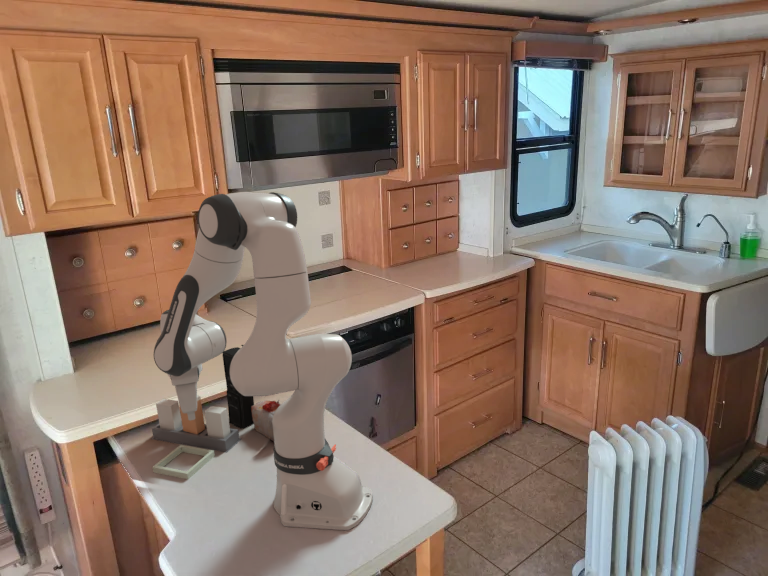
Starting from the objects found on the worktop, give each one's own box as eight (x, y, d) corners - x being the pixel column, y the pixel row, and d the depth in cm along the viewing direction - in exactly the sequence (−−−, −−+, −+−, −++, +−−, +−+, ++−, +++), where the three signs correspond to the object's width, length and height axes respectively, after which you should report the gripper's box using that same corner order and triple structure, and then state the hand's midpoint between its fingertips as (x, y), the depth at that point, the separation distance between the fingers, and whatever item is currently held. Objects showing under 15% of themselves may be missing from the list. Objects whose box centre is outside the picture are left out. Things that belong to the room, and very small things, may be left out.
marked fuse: (205, 429, 155) (200, 395, 152) (197, 434, 152) (192, 400, 150) (191, 425, 157) (186, 392, 154) (183, 430, 154) (178, 397, 152)
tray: (215, 459, 147) (214, 450, 147) (188, 482, 138) (187, 473, 137) (182, 452, 151) (180, 444, 150) (154, 475, 141) (152, 466, 141)
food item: (249, 431, 160) (245, 400, 158) (273, 420, 166) (269, 390, 163) (277, 448, 151) (274, 415, 148) (301, 436, 156) (298, 404, 154)
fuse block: (242, 441, 155) (237, 405, 152) (227, 455, 149) (222, 418, 146) (168, 429, 163) (162, 394, 160) (151, 442, 157) (144, 406, 154)
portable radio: (226, 424, 165) (215, 344, 158) (243, 416, 169) (233, 337, 162) (242, 432, 160) (231, 350, 153) (259, 423, 164) (250, 343, 157)
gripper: (172, 354, 158) (179, 399, 162) (171, 382, 139) (179, 433, 143) (195, 350, 160) (202, 395, 164) (198, 378, 141) (205, 427, 145)
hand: (191, 413), depth 153 cm, fingers closed on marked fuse, 6 cm apart
